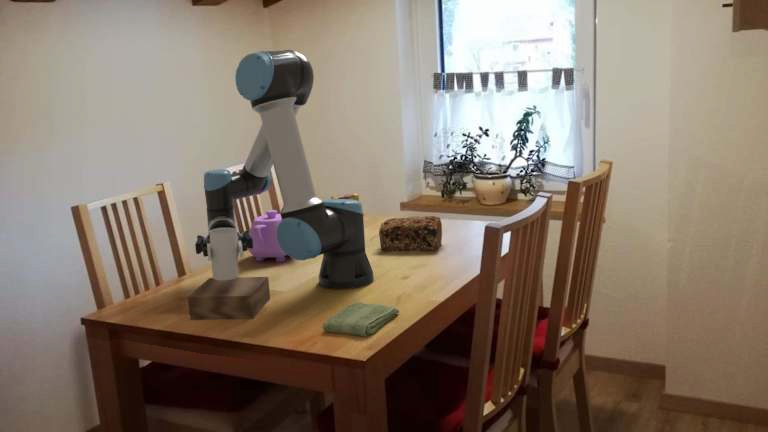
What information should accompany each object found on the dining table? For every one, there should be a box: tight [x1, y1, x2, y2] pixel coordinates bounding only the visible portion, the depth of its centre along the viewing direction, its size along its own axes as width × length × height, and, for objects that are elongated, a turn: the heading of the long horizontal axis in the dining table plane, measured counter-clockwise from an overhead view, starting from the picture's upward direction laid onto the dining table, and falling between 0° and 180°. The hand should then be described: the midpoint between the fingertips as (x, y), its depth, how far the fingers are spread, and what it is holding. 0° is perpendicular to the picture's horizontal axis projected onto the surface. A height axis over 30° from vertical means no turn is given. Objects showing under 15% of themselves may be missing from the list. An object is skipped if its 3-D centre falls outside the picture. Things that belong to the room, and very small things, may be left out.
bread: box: [378, 215, 443, 253], centre depth 254 cm, size 19×11×10 cm, turn 77°
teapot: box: [247, 209, 290, 263], centre depth 250 cm, size 20×20×15 cm
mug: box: [208, 228, 240, 280], centre depth 202 cm, size 10×7×12 cm, turn 158°
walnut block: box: [187, 276, 271, 321], centre depth 204 cm, size 16×16×6 cm
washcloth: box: [322, 301, 400, 338], centre depth 189 cm, size 13×18×3 cm
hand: (225, 253), depth 197 cm, fingers closed on mug, 7 cm apart
